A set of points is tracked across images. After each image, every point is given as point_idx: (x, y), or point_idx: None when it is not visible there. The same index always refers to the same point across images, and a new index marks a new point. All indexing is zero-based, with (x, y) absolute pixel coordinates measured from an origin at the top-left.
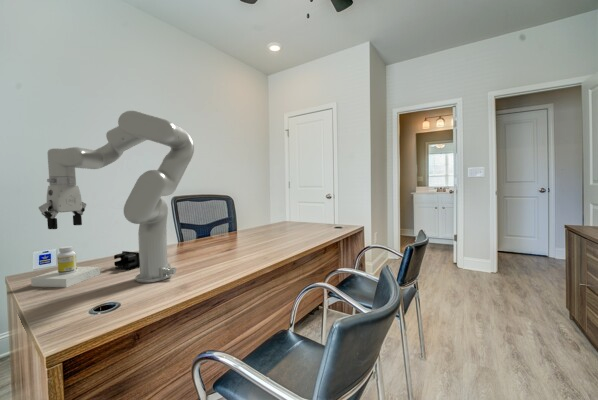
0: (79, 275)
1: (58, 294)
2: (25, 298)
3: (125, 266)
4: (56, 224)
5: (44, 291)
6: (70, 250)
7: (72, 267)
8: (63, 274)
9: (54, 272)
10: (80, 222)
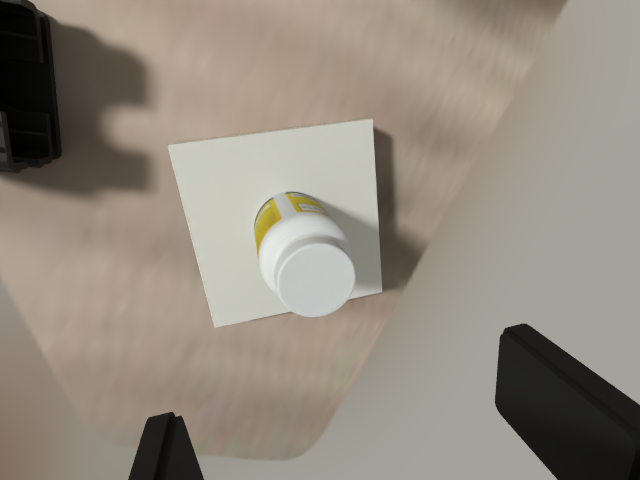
0: (301, 128)
1: (427, 63)
2: (467, 155)
3: (39, 48)
4: (559, 356)
5: (406, 164)
6: (311, 235)
7: (296, 195)
8: None
9: None
10: (162, 446)
